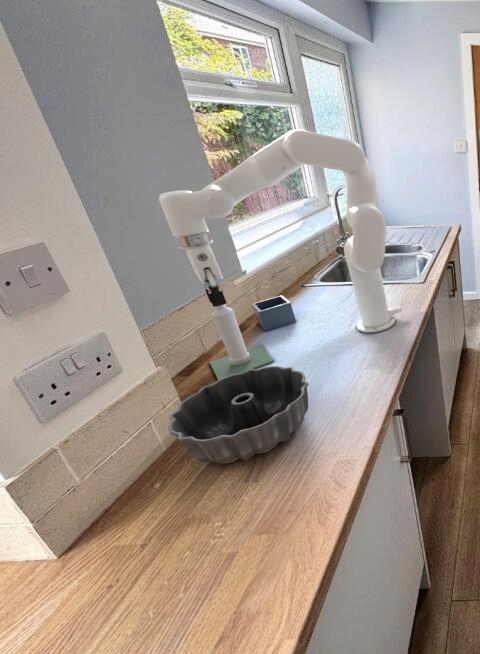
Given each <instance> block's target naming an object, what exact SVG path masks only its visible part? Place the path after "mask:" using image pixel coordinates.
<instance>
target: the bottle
mask: <svg viewBox="0 0 480 654" xmlns="http://www.w3.org/2000/svg"><path fill="white" fill-rule="evenodd" d="M209 286H210V284H209ZM211 317H212V320H213V321H214V324H215V327H216V328H217V331H218V333H219V336H220V339H221V340H222V343H223V345H224V348H225V350H226V353H227V354H228V356H229V357H230V358H229V360H230V362H231V364H232V365H235V366H237V365H242V364H245V363H247V362H248V361H249V360H250V355H249V353H248V352H247V350H246V349H247V347H246V344H245V342H244V339H243V335H242V332H241V329H240V326H239V324H238V321H237V317H236V315H235V312H234V309H233V308H231V307H228V306H227V305H226V304H224V305H220V306H216V307H214V310H213V311H212V313H211Z"/></svg>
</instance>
